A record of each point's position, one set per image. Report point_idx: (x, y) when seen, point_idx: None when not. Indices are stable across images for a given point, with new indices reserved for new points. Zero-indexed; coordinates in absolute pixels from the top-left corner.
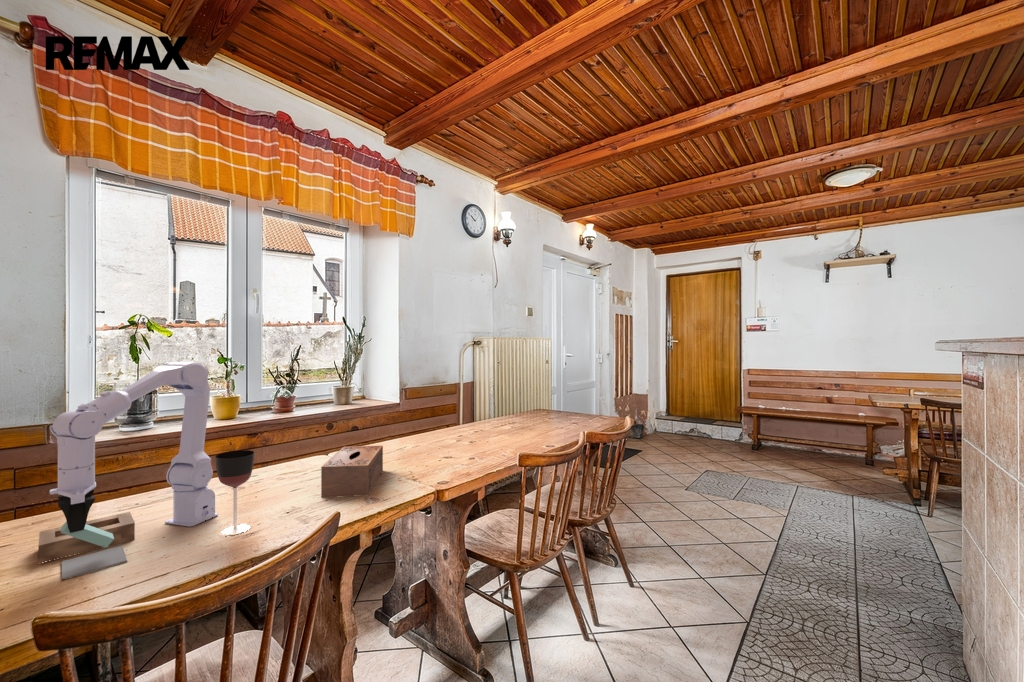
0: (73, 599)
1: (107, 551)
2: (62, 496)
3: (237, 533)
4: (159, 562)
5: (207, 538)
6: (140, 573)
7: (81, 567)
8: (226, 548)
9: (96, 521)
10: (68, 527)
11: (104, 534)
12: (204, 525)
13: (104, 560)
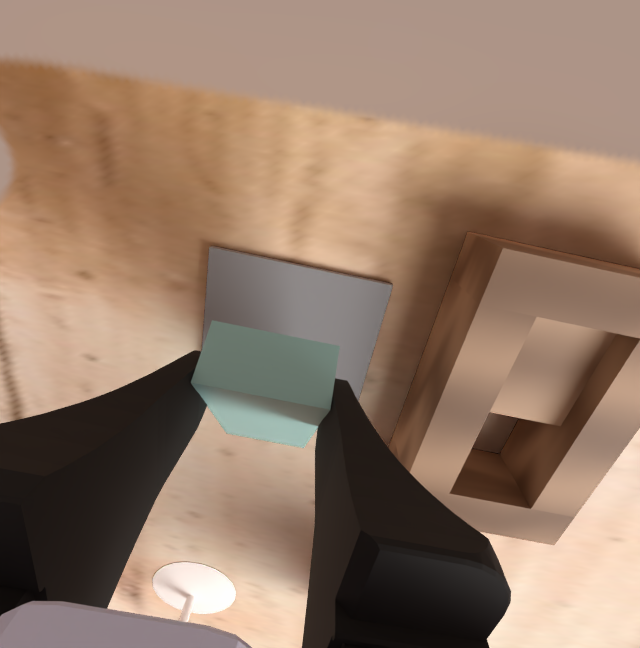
0: (13, 230)
1: None
2: (363, 577)
3: (158, 582)
4: None
5: (193, 544)
6: (74, 389)
7: (259, 309)
8: None
9: (574, 459)
10: (174, 362)
11: (240, 430)
12: (304, 573)
13: None
